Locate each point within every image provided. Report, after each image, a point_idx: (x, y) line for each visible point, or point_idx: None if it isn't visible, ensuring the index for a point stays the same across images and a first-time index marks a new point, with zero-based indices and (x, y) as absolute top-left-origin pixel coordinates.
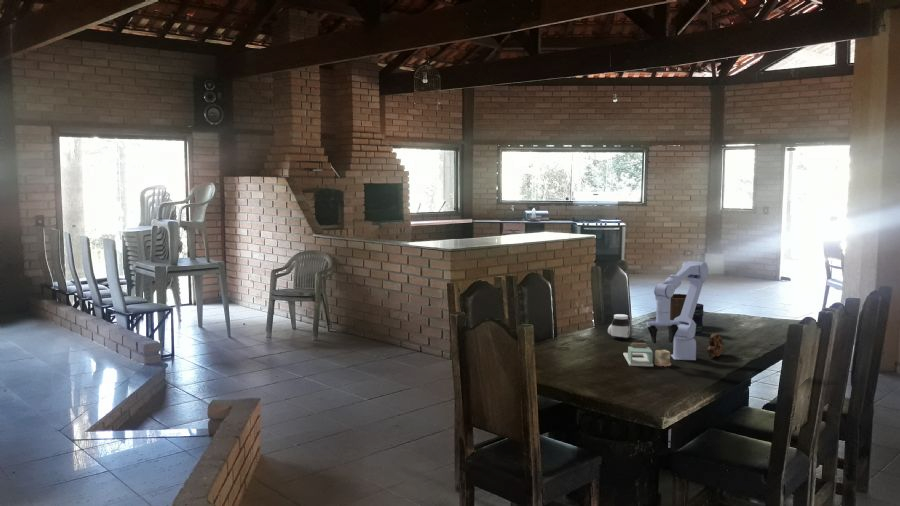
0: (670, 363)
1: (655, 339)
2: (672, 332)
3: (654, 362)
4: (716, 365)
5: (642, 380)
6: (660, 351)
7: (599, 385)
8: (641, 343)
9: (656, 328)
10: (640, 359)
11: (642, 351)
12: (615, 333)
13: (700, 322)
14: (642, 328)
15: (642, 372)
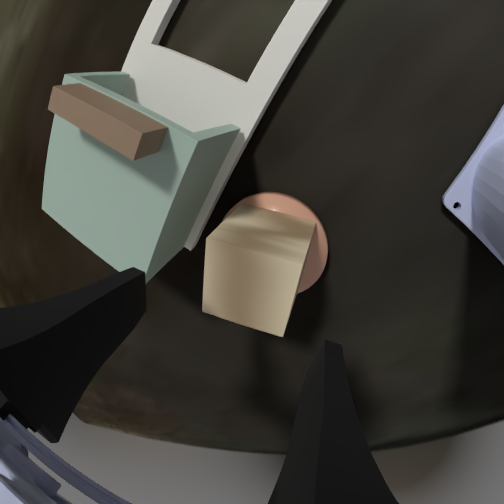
0: (304, 285)
1: (115, 338)
2: (276, 485)
3: (223, 219)
4: (490, 375)
5: None
6: (222, 287)
7: (13, 300)
8: (99, 138)
9: (44, 437)
10: (183, 114)
11: (89, 242)
12: None
13: None
14: None
15: None
